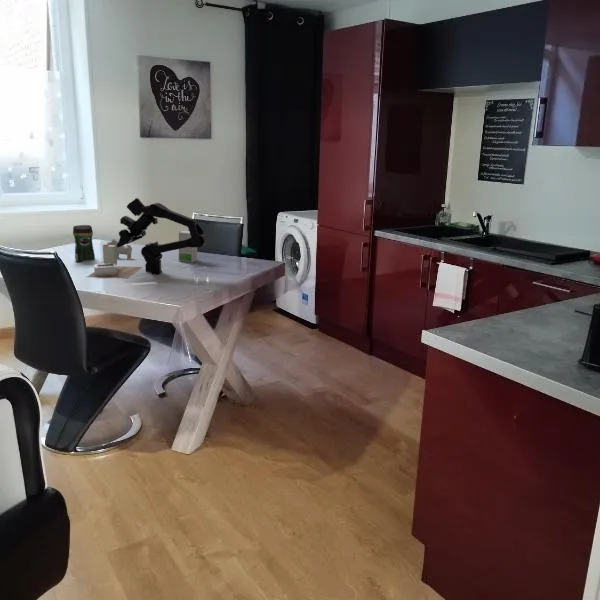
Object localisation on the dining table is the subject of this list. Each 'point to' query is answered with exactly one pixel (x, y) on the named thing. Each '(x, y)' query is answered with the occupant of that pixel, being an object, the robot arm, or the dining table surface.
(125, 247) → the dog figurine
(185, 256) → the skincare box
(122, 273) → the walnut board
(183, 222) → the robot arm
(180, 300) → the dining table surface
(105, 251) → the keyed peg
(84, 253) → the coffee jar
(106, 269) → the keyed slot
